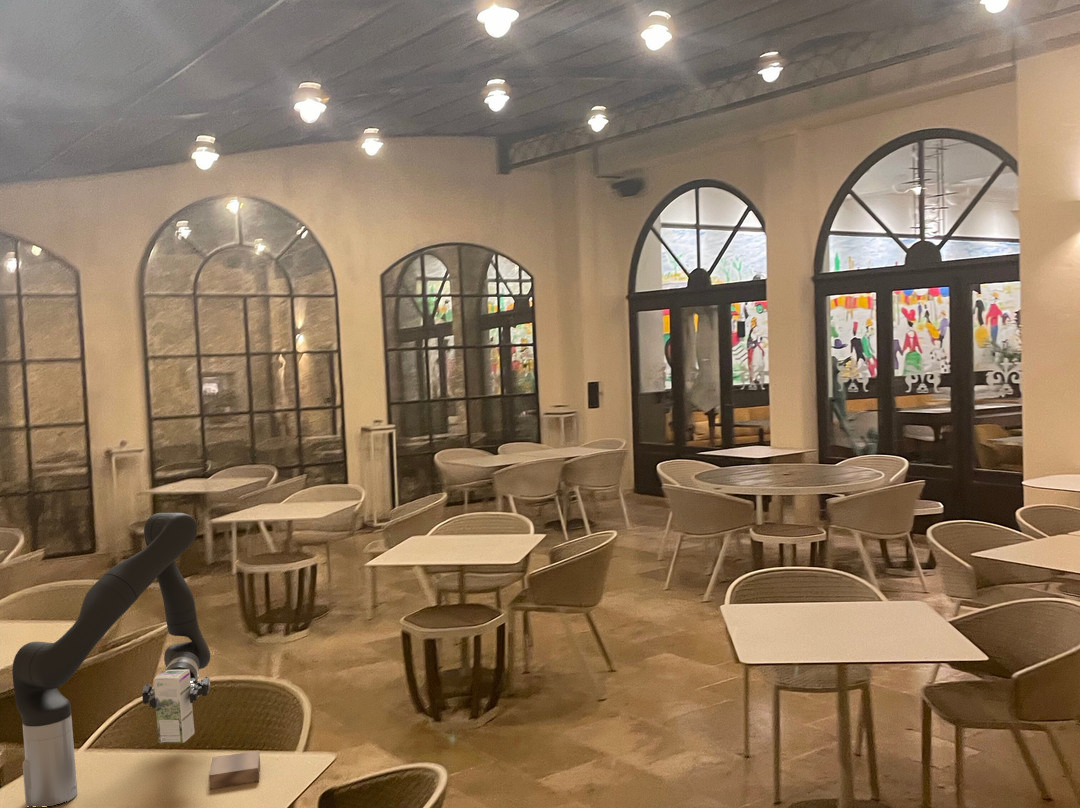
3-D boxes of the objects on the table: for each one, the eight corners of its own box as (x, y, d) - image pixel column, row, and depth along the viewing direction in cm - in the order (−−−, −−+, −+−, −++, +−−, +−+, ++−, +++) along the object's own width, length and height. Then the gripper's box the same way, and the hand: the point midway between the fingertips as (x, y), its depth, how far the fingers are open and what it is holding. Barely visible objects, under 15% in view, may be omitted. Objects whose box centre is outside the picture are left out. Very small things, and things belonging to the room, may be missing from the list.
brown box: (209, 789, 205) (208, 775, 205) (213, 770, 215) (212, 757, 215) (259, 781, 208) (258, 767, 208) (260, 763, 217) (259, 750, 217)
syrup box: (195, 733, 212) (190, 667, 211) (183, 744, 206) (178, 677, 205) (170, 733, 212) (165, 668, 211) (157, 744, 206) (152, 677, 206)
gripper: (145, 665, 220) (135, 688, 204) (212, 657, 224) (206, 679, 208) (148, 697, 221) (137, 723, 205) (214, 689, 224) (209, 713, 208)
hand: (172, 701), depth 206 cm, fingers closed on syrup box, 7 cm apart
